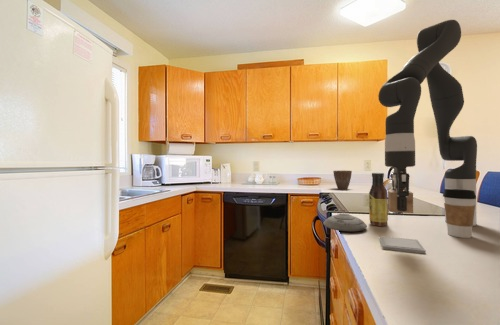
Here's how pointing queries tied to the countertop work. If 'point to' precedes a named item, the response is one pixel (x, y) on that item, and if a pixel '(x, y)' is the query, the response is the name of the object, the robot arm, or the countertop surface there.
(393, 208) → the walnut cube
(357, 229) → the flying saucer
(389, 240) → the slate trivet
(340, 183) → the plant pot
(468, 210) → the coffee cup
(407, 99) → the robot arm
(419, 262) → the countertop surface
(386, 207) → the sauce bottle
